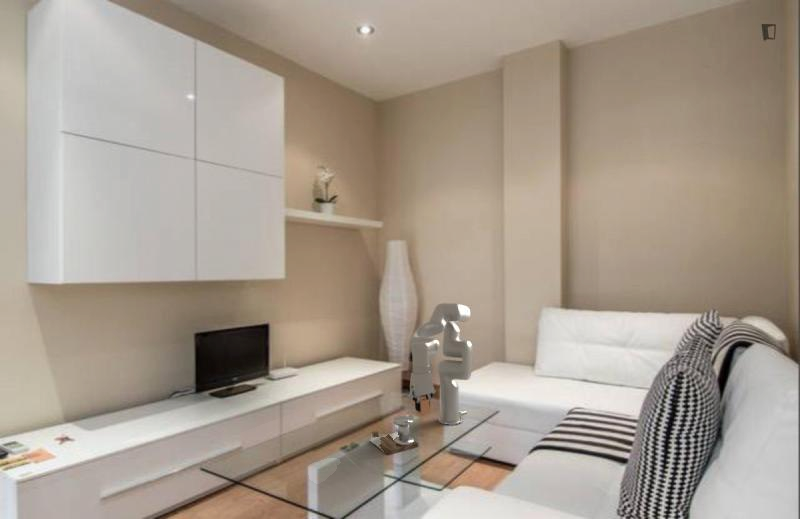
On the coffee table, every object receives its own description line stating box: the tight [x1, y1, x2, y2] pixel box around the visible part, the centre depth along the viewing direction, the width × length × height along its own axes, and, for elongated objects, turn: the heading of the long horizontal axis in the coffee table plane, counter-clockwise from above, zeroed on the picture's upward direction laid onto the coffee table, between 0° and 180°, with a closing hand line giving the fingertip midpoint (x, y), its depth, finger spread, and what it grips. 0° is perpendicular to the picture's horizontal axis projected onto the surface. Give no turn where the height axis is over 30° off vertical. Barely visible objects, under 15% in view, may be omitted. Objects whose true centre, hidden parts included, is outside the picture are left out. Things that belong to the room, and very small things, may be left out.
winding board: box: [371, 430, 419, 456], centre depth 206 cm, size 16×18×4 cm
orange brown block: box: [415, 397, 431, 416], centre depth 201 cm, size 4×4×6 cm
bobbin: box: [393, 415, 415, 446], centre depth 204 cm, size 9×9×10 cm
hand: (422, 409), depth 201 cm, fingers closed on orange brown block, 4 cm apart
